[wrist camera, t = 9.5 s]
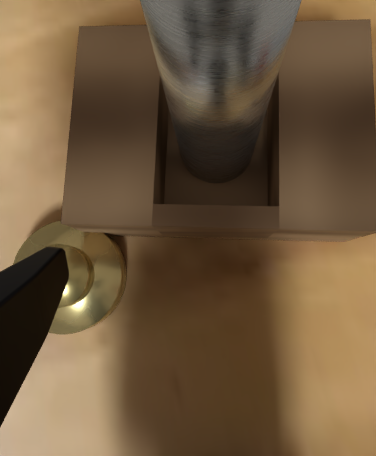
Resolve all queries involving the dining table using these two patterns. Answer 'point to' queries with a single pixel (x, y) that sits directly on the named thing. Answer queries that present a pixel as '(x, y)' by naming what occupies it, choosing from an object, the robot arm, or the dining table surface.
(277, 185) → the slot block
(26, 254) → the brass domed disc
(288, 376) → the dining table surface
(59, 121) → the dining table surface
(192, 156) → the pin
